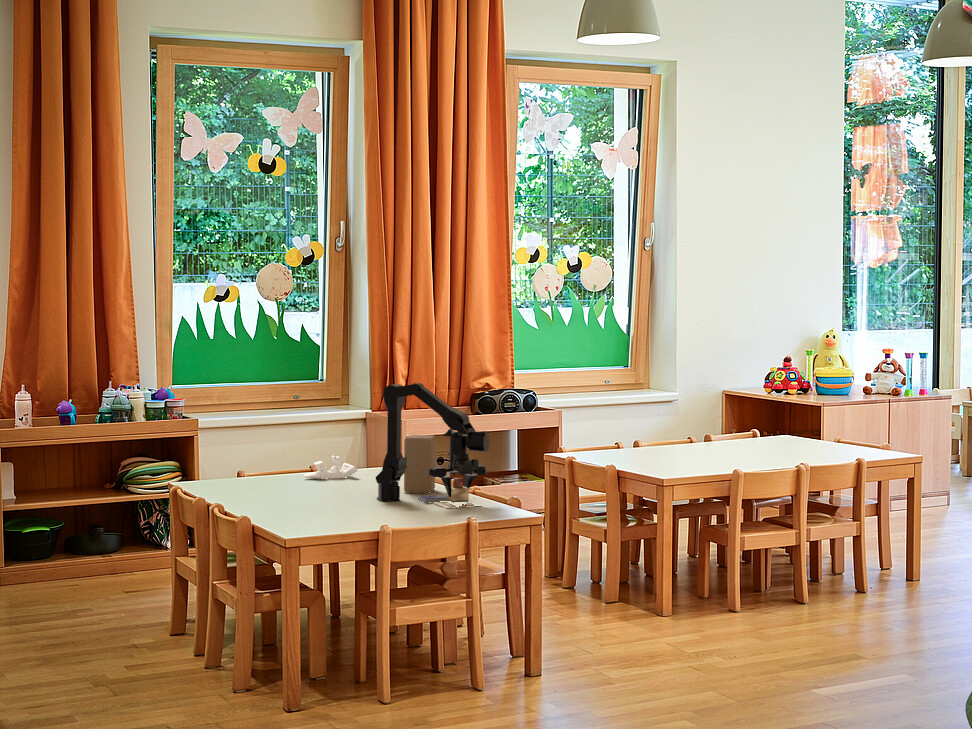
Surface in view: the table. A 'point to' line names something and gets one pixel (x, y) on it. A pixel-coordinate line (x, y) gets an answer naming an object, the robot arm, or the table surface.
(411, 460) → the wooden block
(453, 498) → the stamp
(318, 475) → the white coral
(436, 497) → the ink pad
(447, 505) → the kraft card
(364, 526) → the table surface
